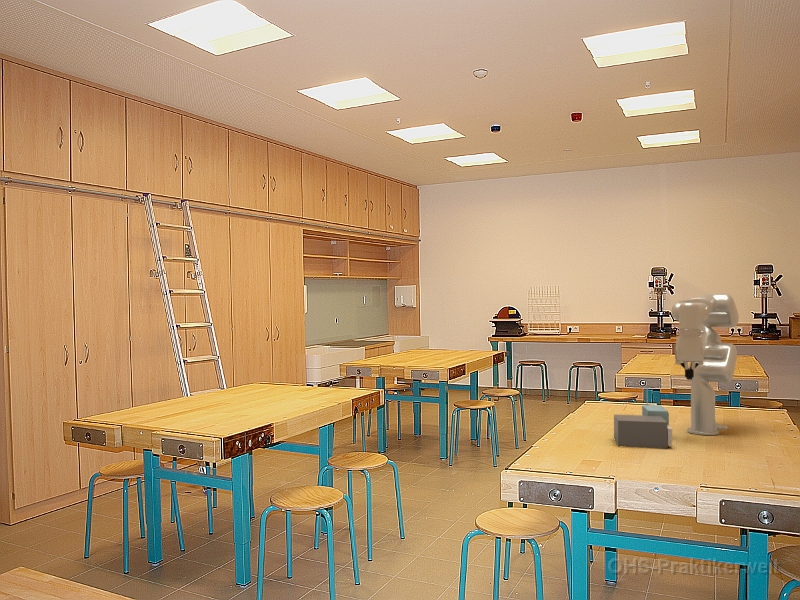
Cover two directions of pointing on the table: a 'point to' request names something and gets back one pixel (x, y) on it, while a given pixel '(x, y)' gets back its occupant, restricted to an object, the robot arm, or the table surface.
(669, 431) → the light grey drawer
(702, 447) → the table surface
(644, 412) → the radio
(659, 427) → the housing
